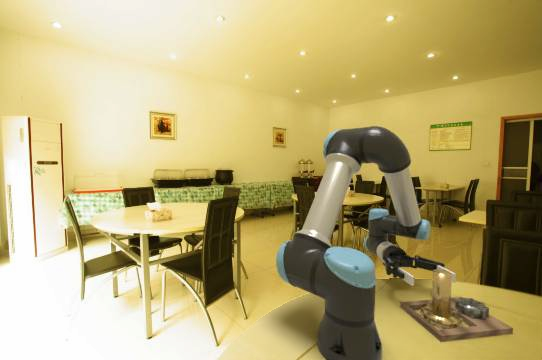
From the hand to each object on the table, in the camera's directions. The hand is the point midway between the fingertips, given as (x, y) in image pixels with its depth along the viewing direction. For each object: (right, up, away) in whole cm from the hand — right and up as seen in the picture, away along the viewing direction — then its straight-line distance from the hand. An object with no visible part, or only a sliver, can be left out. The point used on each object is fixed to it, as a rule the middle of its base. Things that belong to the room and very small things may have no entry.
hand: (434, 279), depth 76 cm
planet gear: (0, -10, -3) cm, 11 cm away
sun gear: (+10, -9, -2) cm, 13 cm away
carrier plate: (+3, -10, -3) cm, 11 cm away
